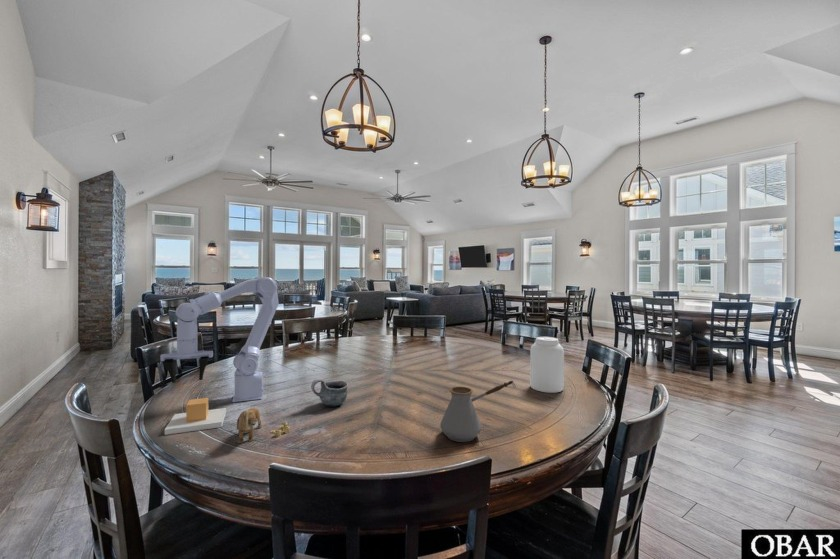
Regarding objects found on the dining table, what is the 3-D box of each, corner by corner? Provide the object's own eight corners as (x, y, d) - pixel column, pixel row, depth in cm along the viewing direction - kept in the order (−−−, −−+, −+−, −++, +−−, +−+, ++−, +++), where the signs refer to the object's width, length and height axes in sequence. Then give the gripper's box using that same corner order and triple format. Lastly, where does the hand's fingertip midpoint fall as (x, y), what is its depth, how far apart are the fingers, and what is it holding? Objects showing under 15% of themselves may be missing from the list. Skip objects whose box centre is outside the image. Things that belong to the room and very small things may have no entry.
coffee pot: (444, 446, 96) (444, 389, 96) (436, 428, 107) (437, 377, 107) (522, 442, 99) (523, 386, 98) (507, 424, 110) (507, 374, 110)
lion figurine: (257, 446, 95) (257, 412, 95) (234, 449, 94) (234, 414, 94) (262, 424, 109) (262, 394, 109) (242, 426, 108) (242, 396, 108)
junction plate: (226, 412, 118) (226, 397, 118) (221, 427, 107) (221, 410, 107) (174, 418, 113) (174, 402, 113) (164, 434, 102) (164, 417, 102)
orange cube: (208, 413, 113) (208, 397, 113) (206, 419, 109) (205, 402, 109) (189, 416, 111) (189, 399, 111) (186, 422, 107) (186, 405, 107)
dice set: (286, 428, 108) (286, 422, 108) (293, 434, 104) (293, 427, 104) (268, 433, 105) (268, 426, 104) (276, 439, 101) (276, 432, 101)
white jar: (570, 389, 143) (571, 338, 143) (550, 395, 136) (550, 341, 136) (543, 381, 154) (543, 334, 153) (523, 386, 146) (523, 336, 146)
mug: (353, 404, 126) (353, 375, 126) (321, 414, 117) (321, 383, 117) (337, 397, 133) (337, 370, 133) (306, 407, 124) (305, 377, 123)
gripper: (157, 343, 114) (157, 386, 115) (210, 340, 120) (211, 381, 120) (163, 339, 121) (163, 380, 121) (213, 336, 126) (214, 375, 127)
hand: (187, 380), depth 121 cm, fingers open, 7 cm apart
